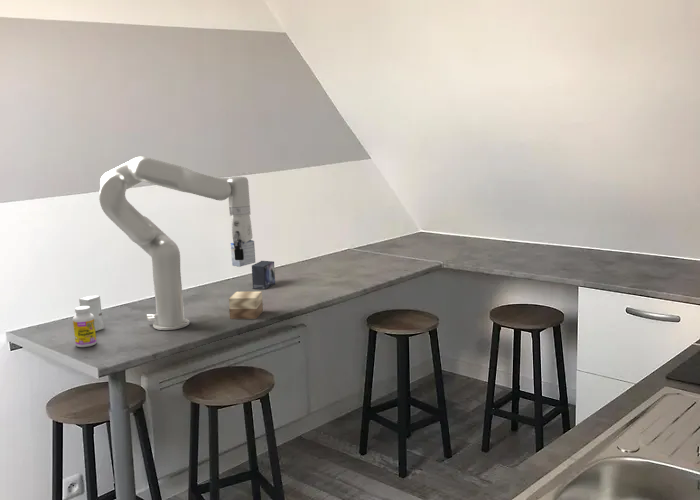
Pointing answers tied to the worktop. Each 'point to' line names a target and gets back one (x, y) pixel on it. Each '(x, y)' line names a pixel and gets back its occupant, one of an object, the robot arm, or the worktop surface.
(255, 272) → the small box
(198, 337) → the worktop surface
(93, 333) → the supplement bottle
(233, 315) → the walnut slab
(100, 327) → the skincare box
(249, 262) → the medicine box
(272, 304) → the worktop surface
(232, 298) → the birch slab
